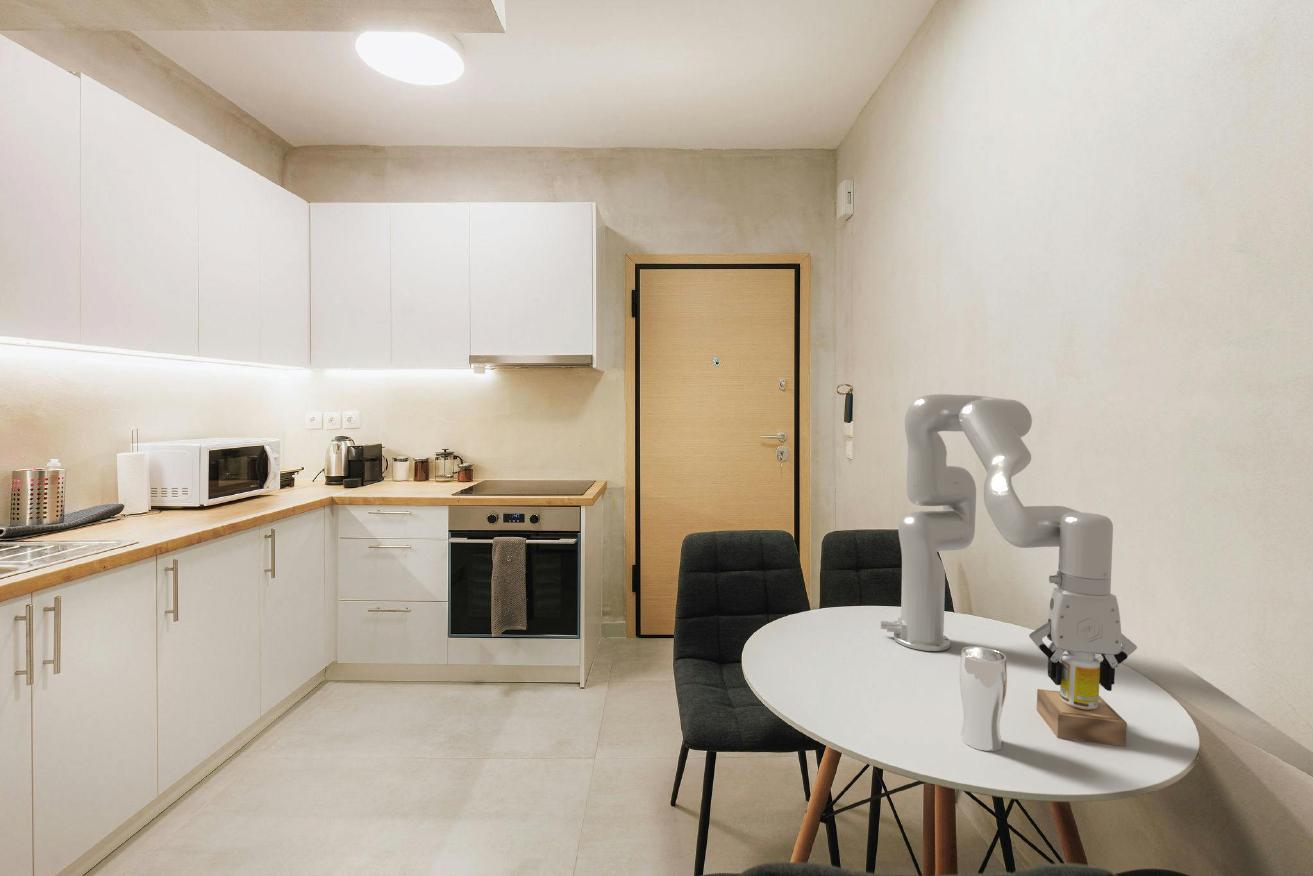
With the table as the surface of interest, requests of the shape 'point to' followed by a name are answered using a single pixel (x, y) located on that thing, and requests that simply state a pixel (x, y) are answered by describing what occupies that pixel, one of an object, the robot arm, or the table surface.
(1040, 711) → the base
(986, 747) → the beer glass
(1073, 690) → the supplement bottle
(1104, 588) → the robot arm
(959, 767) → the table surface
